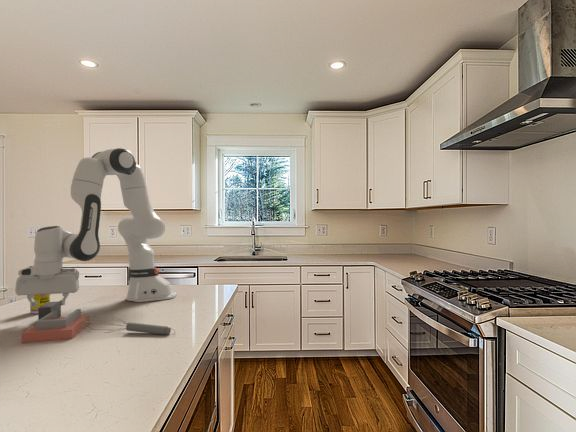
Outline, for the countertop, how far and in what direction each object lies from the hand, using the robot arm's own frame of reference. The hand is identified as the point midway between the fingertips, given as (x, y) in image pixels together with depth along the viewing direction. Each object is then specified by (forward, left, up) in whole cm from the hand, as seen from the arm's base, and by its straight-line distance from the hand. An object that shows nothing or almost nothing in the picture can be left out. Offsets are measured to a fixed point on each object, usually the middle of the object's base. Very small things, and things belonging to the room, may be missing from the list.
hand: (48, 305), depth 130 cm
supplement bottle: (+9, -15, -6) cm, 18 cm away
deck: (-9, +16, -6) cm, 20 cm away
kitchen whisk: (-32, +23, -6) cm, 40 cm away
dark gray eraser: (0, -1, -6) cm, 6 cm away
